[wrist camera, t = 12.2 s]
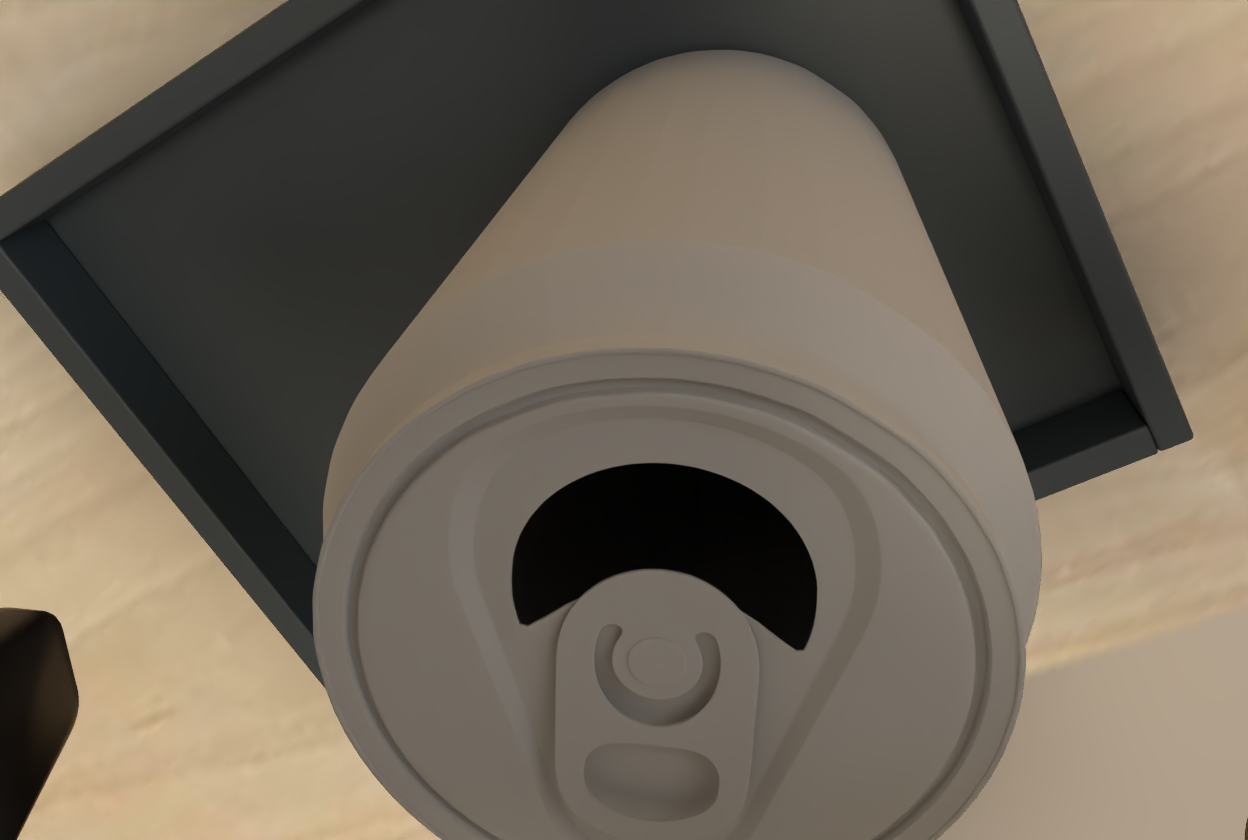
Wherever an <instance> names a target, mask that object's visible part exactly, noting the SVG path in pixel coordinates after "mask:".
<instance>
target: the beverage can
mask: <svg viewBox="0 0 1248 840" xmlns="http://www.w3.org/2000/svg"><path fill="white" fill-rule="evenodd" d="M1041 568H1042V553H1041V538H1040V528H1039V520H1038V512H1037V507H1036V502H1035V498H1034V494H1033V490H1032V487H1031V483H1030V480H1029V477H1028V474H1027V471H1026V468H1025V465H1024V462H1023V459H1022V457H1021V454H1020V451H1019V449H1018V446H1017V444H1016V442H1015V439H1014V437H1013V434H1012V432H1011V430H1010V427H1009V425H1008V423H1007V420H1006V418H1005V416H1004V413H1003V411H1002V409H1001V406H1000V404H999V402H998V399H997V397H996V394H995V392H994V390H993V387H992V385H991V383H990V380H989V378H988V376H987V373H986V371H985V369H984V366H983V364H982V362H981V359H980V357H979V354H978V352H977V350H976V347H975V345H974V343H973V340H972V338H971V336H970V333H969V331H968V329H967V326H966V324H965V322H964V319H963V317H962V314H961V312H960V310H959V307H958V305H957V303H956V300H955V298H954V296H953V293H952V291H951V289H950V286H949V284H948V282H947V279H946V277H945V274H944V272H943V270H942V267H941V265H940V263H939V260H938V258H937V256H936V253H935V251H934V249H933V246H932V244H931V242H930V239H929V237H928V234H927V232H926V230H925V227H924V225H923V223H922V220H921V218H920V216H919V213H918V211H917V209H916V206H915V204H914V202H913V199H912V197H911V194H910V192H909V190H908V187H907V185H906V183H905V180H904V178H903V176H902V173H901V171H900V169H899V166H898V164H897V162H896V160H895V158H894V156H893V154H892V152H891V150H890V148H889V146H888V145H887V143H886V141H885V139H884V138H883V136H882V134H881V133H880V131H879V130H878V129H877V127H876V126H875V125H874V124H873V122H872V121H871V120H870V119H869V118H868V116H867V115H866V114H865V113H864V112H863V111H862V109H861V108H860V107H859V106H858V105H857V104H856V103H855V102H853V101H852V100H851V99H850V98H849V97H847V96H846V95H845V94H843V93H842V92H841V91H839V90H838V89H836V88H835V87H833V86H832V85H830V84H829V83H828V82H826V81H824V80H823V79H821V78H820V77H818V76H817V75H815V74H814V73H812V72H810V71H809V70H807V69H805V68H803V67H800V66H798V65H796V64H793V63H790V62H787V61H785V60H782V59H778V58H775V57H772V56H768V55H764V54H760V53H754V52H747V51H739V50H705V51H694V52H687V53H682V54H678V55H674V56H669V57H665V58H662V59H658V60H656V61H653V62H650V63H648V64H646V65H644V66H641V67H639V68H637V69H634V70H632V71H631V72H629V73H627V74H625V75H623V76H621V77H620V78H618V79H617V80H615V81H614V82H612V83H611V84H609V85H608V86H606V87H605V88H603V89H602V90H601V91H599V92H598V93H597V94H596V95H594V96H593V97H592V98H591V99H590V100H589V101H588V102H587V103H586V104H585V105H584V106H583V107H582V108H581V109H580V110H579V111H578V112H577V113H576V114H575V115H574V116H573V117H572V119H571V120H570V121H569V122H568V124H567V125H566V126H565V127H564V129H563V130H562V131H561V133H560V134H559V135H558V136H557V138H556V139H555V140H554V141H553V143H552V144H551V145H550V147H549V148H548V149H547V150H546V152H545V153H544V154H543V155H542V157H541V158H540V159H539V161H538V162H537V163H536V164H535V166H534V167H533V168H532V169H531V171H530V172H529V173H528V175H527V176H526V177H525V178H524V180H523V181H522V182H521V184H520V185H519V186H518V187H517V189H516V190H515V191H514V192H513V194H512V195H511V196H510V198H509V199H508V200H507V201H506V203H505V204H504V205H503V206H502V208H501V209H500V210H499V212H498V213H497V214H496V215H495V217H494V218H493V219H492V221H491V222H490V223H489V224H488V226H487V227H486V228H485V229H484V231H483V232H482V233H481V235H480V236H479V237H478V238H477V240H476V241H475V242H474V243H473V245H472V246H471V247H470V249H469V250H468V251H467V252H466V254H465V255H464V256H463V258H462V259H461V260H460V261H459V263H458V264H457V265H456V266H455V268H454V269H453V270H452V272H451V273H450V274H449V275H448V277H447V278H446V279H445V280H444V282H443V283H442V284H441V286H440V287H439V288H438V289H437V291H436V292H435V293H434V294H433V296H432V297H431V298H430V300H429V301H428V302H427V303H426V305H425V306H424V307H423V309H422V310H421V311H420V312H419V314H418V315H417V316H416V317H415V319H414V320H413V321H412V323H411V324H410V325H409V326H408V328H407V329H406V330H405V331H404V333H403V334H402V335H401V337H400V338H399V339H398V340H397V342H396V343H395V344H394V346H393V347H392V348H391V349H390V351H389V352H388V353H387V354H386V356H385V357H384V358H383V360H382V361H381V362H380V364H379V365H378V366H377V368H376V369H375V371H374V372H373V373H372V375H371V376H370V377H369V379H368V381H367V382H366V384H365V385H364V387H363V388H362V390H361V391H360V393H359V394H358V396H357V397H356V399H355V401H354V403H353V405H352V407H351V409H350V411H349V413H348V415H347V417H346V420H345V422H344V424H343V427H342V429H341V432H340V434H339V436H338V439H337V442H336V444H335V447H334V450H333V454H332V458H331V462H330V467H329V472H328V477H327V483H326V488H325V495H324V502H323V544H322V547H321V551H320V555H319V560H318V565H317V570H316V576H315V581H314V588H313V603H312V605H313V636H314V644H315V649H316V654H317V658H318V663H319V667H320V671H321V674H322V678H323V681H324V685H325V688H326V691H327V693H328V696H329V698H330V701H331V704H332V706H333V709H334V711H335V713H336V715H337V717H338V719H339V721H340V723H341V725H342V727H343V729H344V731H345V733H346V735H347V737H348V738H349V740H350V741H351V743H352V745H353V746H354V748H355V750H356V751H357V753H358V754H359V756H360V757H361V759H362V760H363V761H364V763H365V764H366V765H367V767H368V768H369V770H370V771H371V772H372V774H373V775H374V776H375V777H376V778H377V780H378V781H379V782H380V783H381V784H382V785H383V787H384V788H385V789H386V790H387V791H388V792H389V794H390V795H391V796H392V797H393V798H394V799H395V800H396V801H397V802H398V803H399V804H400V805H401V806H402V807H403V808H404V809H405V810H406V811H407V812H409V813H410V814H411V815H412V816H413V817H414V818H416V819H417V820H418V821H419V822H420V823H421V824H422V825H424V826H425V827H426V828H427V829H428V830H430V831H431V832H432V833H434V834H435V835H436V836H438V837H439V838H440V839H442V840H936V839H937V838H939V837H940V836H941V835H942V834H943V833H944V832H945V831H946V830H947V829H948V828H949V827H950V826H951V825H952V824H953V823H955V822H956V821H957V820H958V819H959V818H960V817H961V815H962V814H963V813H964V812H965V811H966V810H967V808H968V807H969V806H970V805H971V803H972V802H973V801H974V800H975V799H976V798H977V796H978V795H979V793H980V792H981V790H982V789H983V788H984V786H985V785H986V783H987V782H988V780H989V779H990V777H991V776H992V774H993V772H994V770H995V768H996V767H997V765H998V763H999V761H1000V759H1001V757H1002V756H1003V753H1004V751H1005V749H1006V746H1007V744H1008V741H1009V739H1010V737H1011V734H1012V731H1013V729H1014V725H1015V722H1016V719H1017V716H1018V713H1019V709H1020V704H1021V699H1022V694H1023V686H1024V678H1025V668H1026V649H1025V646H1026V644H1027V641H1028V638H1029V635H1030V631H1031V628H1032V625H1033V622H1034V618H1035V613H1036V609H1037V604H1038V597H1039V589H1040V581H1041Z"/></svg>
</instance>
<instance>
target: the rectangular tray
mask: <svg viewBox="0 0 1248 840" xmlns="http://www.w3.org/2000/svg"><path fill="white" fill-rule="evenodd" d="M705 50H739V51H747V52H754V53H760V54H764V55H768V56H772V57H775V58H778V59H782V60H785V61H787V62H790V63H793V64H796V65H798V66H800V67H803V68H805V69H807V70H809V71H810V72H812V73H814V74H815V75H817V76H818V77H820V78H821V79H823V80H824V81H826V82H828V83H829V84H830V85H832V86H833V87H835V88H836V89H838V90H839V91H841V92H842V93H843V94H845V95H846V96H847V97H849V98H850V99H851V100H852V101H853V102H855V103H856V104H857V105H858V106H859V107H860V108H861V109H862V111H863V112H864V113H865V114H866V115H867V116H868V118H869V119H870V120H871V121H872V122H873V124H874V125H875V126H876V127H877V129H878V130H879V131H880V133H881V134H882V136H883V138H884V139H885V141H886V143H887V145H888V146H889V148H890V150H891V152H892V154H893V156H894V158H895V160H896V162H897V164H898V166H899V169H900V171H901V173H902V176H903V178H904V180H905V183H906V185H907V187H908V190H909V192H910V194H911V197H912V199H913V202H914V204H915V206H916V209H917V211H918V213H919V216H920V218H921V220H922V223H923V225H924V227H925V230H926V232H927V234H928V237H929V239H930V242H931V244H932V246H933V249H934V251H935V253H936V256H937V258H938V260H939V263H940V265H941V267H942V270H943V272H944V274H945V277H946V279H947V282H948V284H949V286H950V289H951V291H952V293H953V296H954V298H955V300H956V303H957V305H958V307H959V310H960V312H961V314H962V317H963V319H964V322H965V324H966V326H967V329H968V331H969V333H970V336H971V338H972V340H973V343H974V345H975V347H976V350H977V352H978V354H979V357H980V359H981V362H982V364H983V366H984V369H985V371H986V373H987V376H988V378H989V380H990V383H991V385H992V387H993V390H994V392H995V394H996V397H997V399H998V402H999V404H1000V406H1001V409H1002V411H1003V413H1004V416H1005V418H1006V420H1007V423H1008V425H1009V427H1010V430H1011V432H1012V434H1013V437H1014V439H1015V442H1016V444H1017V446H1018V449H1019V451H1020V454H1021V457H1022V459H1023V462H1024V465H1025V468H1026V471H1027V474H1028V477H1029V480H1030V483H1031V487H1032V490H1033V494H1034V498H1035V501H1036V500H1038V499H1041V498H1043V497H1046V496H1048V495H1051V494H1054V493H1056V492H1059V491H1061V490H1064V489H1067V488H1069V487H1072V486H1074V485H1077V484H1079V483H1082V482H1085V481H1087V480H1090V479H1092V478H1095V477H1097V476H1100V475H1103V474H1105V473H1108V472H1110V471H1113V470H1115V469H1118V468H1121V467H1123V466H1126V465H1128V464H1131V463H1133V462H1136V461H1139V460H1141V459H1144V458H1146V457H1149V456H1152V455H1154V454H1156V453H1157V451H1158V450H1160V451H1162V450H1166V449H1168V448H1171V447H1173V446H1176V445H1179V444H1181V443H1184V442H1186V441H1189V440H1191V439H1192V438H1193V432H1192V430H1191V427H1190V425H1189V423H1188V420H1187V418H1186V415H1185V413H1184V410H1183V408H1182V405H1181V403H1180V400H1179V398H1178V395H1177V393H1176V391H1175V388H1174V386H1173V383H1172V381H1171V378H1170V376H1169V373H1168V371H1167V368H1166V366H1165V363H1164V361H1163V359H1162V356H1161V354H1160V351H1159V349H1158V346H1157V344H1156V341H1155V339H1154V336H1153V334H1152V331H1151V329H1150V327H1149V324H1148V322H1147V319H1146V317H1145V314H1144V312H1143V309H1142V307H1141V304H1140V302H1139V299H1138V297H1137V295H1136V292H1135V290H1134V287H1133V285H1132V282H1131V280H1130V277H1129V275H1128V272H1127V270H1126V267H1125V265H1124V263H1123V260H1122V258H1121V255H1120V253H1119V250H1118V248H1117V245H1116V243H1115V240H1114V238H1113V236H1112V233H1111V231H1110V228H1109V226H1108V223H1107V221H1106V218H1105V216H1104V213H1103V211H1102V208H1101V206H1100V204H1099V201H1098V199H1097V196H1096V194H1095V191H1094V189H1093V186H1092V184H1091V181H1090V179H1089V176H1088V174H1087V172H1086V169H1085V167H1084V164H1083V162H1082V159H1081V157H1080V154H1079V152H1078V149H1077V147H1076V144H1075V142H1074V140H1073V137H1072V135H1071V132H1070V130H1069V127H1068V125H1067V122H1066V120H1065V117H1064V115H1063V112H1062V110H1061V108H1060V105H1059V103H1058V100H1057V98H1056V95H1055V93H1054V90H1053V88H1052V85H1051V83H1050V80H1049V78H1048V76H1047V73H1046V71H1045V68H1044V66H1043V63H1042V61H1041V58H1040V56H1039V53H1038V51H1037V48H1036V46H1035V44H1034V41H1033V39H1032V36H1031V34H1030V31H1029V29H1028V26H1027V24H1026V21H1025V19H1024V17H1023V14H1022V12H1021V9H1020V7H1019V4H1018V2H1017V0H288V1H286V2H285V3H283V4H282V5H280V6H279V7H278V8H276V9H275V10H273V11H272V12H270V13H269V14H267V15H266V16H264V17H263V18H261V19H260V20H258V21H257V22H256V23H254V24H253V25H251V26H250V27H248V28H247V29H245V30H244V31H242V32H241V33H239V34H238V35H236V36H235V37H234V38H232V39H231V40H229V41H228V42H226V43H225V44H223V45H222V46H220V47H219V48H217V49H216V50H214V51H213V52H211V53H210V54H209V55H207V56H206V57H204V58H203V59H201V60H200V61H198V62H197V63H195V64H194V65H192V66H191V67H189V68H188V69H187V70H185V71H184V72H182V73H181V74H179V75H178V76H176V77H175V78H173V79H172V80H170V81H169V82H167V83H166V84H165V85H163V86H162V87H160V88H159V89H157V90H156V91H154V92H153V93H151V94H150V95H148V96H147V97H145V98H144V99H143V100H141V101H140V102H138V103H137V104H135V105H134V106H132V107H131V108H129V109H128V110H126V111H125V112H123V113H122V114H121V115H119V116H118V117H116V118H115V119H113V120H112V121H110V122H109V123H107V124H106V125H104V126H103V127H101V128H100V129H98V130H97V131H96V132H94V133H93V134H91V135H90V136H88V137H87V138H85V139H84V140H82V141H81V142H79V143H78V144H76V145H75V146H74V147H72V148H71V149H69V150H68V151H66V152H65V153H63V154H62V155H60V156H59V157H57V158H56V159H54V160H53V161H52V162H50V163H49V164H47V165H46V166H44V167H43V168H41V169H40V170H38V171H37V172H35V173H34V174H32V175H31V176H30V177H28V178H27V179H25V180H24V181H22V182H21V183H19V184H18V185H16V186H15V187H13V188H12V189H10V190H9V191H7V192H6V193H5V194H3V195H2V196H0V290H1V291H2V292H3V294H4V295H5V296H6V297H7V298H8V300H9V301H10V302H11V303H12V305H13V306H14V307H15V308H16V310H17V311H18V312H19V313H20V314H21V316H22V317H23V318H24V319H25V321H26V322H27V323H28V324H29V325H30V327H31V328H32V329H33V330H34V332H35V333H36V334H37V335H38V337H39V338H40V339H41V340H42V341H43V343H44V344H45V345H46V346H47V348H48V349H49V350H50V351H51V352H52V354H53V355H54V356H55V357H56V359H57V360H58V361H59V362H60V364H61V365H62V366H63V367H64V368H65V370H66V371H67V372H68V373H69V375H70V376H71V377H72V378H73V379H74V381H75V382H76V383H77V384H78V386H79V387H80V388H81V389H82V390H83V392H84V393H85V394H86V395H87V397H88V398H89V399H90V400H91V402H92V403H93V404H94V405H95V406H96V408H97V409H98V410H99V411H100V413H101V414H102V415H103V416H104V417H105V419H106V420H107V421H108V422H109V424H110V425H111V426H112V427H113V429H114V430H115V431H116V432H117V433H118V435H119V436H120V437H121V438H122V440H123V441H124V442H125V443H126V444H127V446H128V447H129V448H130V449H131V451H132V452H133V453H134V454H135V456H136V457H137V458H138V459H139V460H140V462H141V463H142V464H143V465H144V467H145V468H146V469H147V470H148V471H149V473H150V474H151V475H152V476H153V478H154V479H155V480H156V481H157V483H158V484H159V485H160V486H161V487H162V489H163V490H164V491H165V492H166V494H167V495H168V496H169V497H170V498H171V500H172V501H173V502H174V503H175V505H176V506H177V507H178V508H179V510H180V511H181V512H182V513H183V514H184V516H185V517H186V518H187V519H188V521H189V522H190V523H191V524H192V525H193V527H194V528H195V529H196V530H197V532H198V533H199V534H200V535H201V536H202V538H203V539H204V540H205V541H206V543H207V544H208V545H209V546H210V548H211V549H212V550H213V551H214V552H215V554H216V555H217V556H218V557H219V559H220V560H221V561H222V562H223V563H224V565H225V566H226V567H227V568H228V570H229V571H230V572H231V573H232V575H233V576H234V577H235V578H236V579H237V581H238V582H239V583H240V584H241V586H242V587H243V588H244V589H245V590H246V592H247V593H248V594H249V595H250V597H251V598H252V599H253V600H254V602H255V603H256V604H257V605H258V606H259V608H260V609H261V610H262V611H263V613H264V614H265V615H266V616H267V617H268V619H269V620H270V621H271V622H272V624H273V625H274V626H275V627H276V629H277V630H278V631H279V632H280V633H281V635H282V636H283V637H284V638H285V640H286V641H287V642H288V643H289V644H290V646H291V647H292V648H293V649H294V651H295V652H296V653H297V654H298V656H299V657H300V658H301V659H302V660H303V662H304V663H305V664H306V665H307V667H308V668H309V669H310V670H311V671H312V673H313V674H314V675H315V676H316V678H317V679H318V680H319V681H320V683H321V684H322V685H323V686H324V687H325V685H324V681H323V678H322V674H321V671H320V667H319V663H318V658H317V654H316V649H315V644H314V636H313V605H312V603H313V588H314V581H315V576H316V570H317V565H318V560H319V555H320V551H321V547H322V544H323V502H324V495H325V488H326V483H327V477H328V472H329V467H330V462H331V458H332V454H333V450H334V447H335V444H336V442H337V439H338V436H339V434H340V432H341V429H342V427H343V424H344V422H345V420H346V417H347V415H348V413H349V411H350V409H351V407H352V405H353V403H354V401H355V399H356V397H357V396H358V394H359V393H360V391H361V390H362V388H363V387H364V385H365V384H366V382H367V381H368V379H369V377H370V376H371V375H372V373H373V372H374V371H375V369H376V368H377V366H378V365H379V364H380V362H381V361H382V360H383V358H384V357H385V356H386V354H387V353H388V352H389V351H390V349H391V348H392V347H393V346H394V344H395V343H396V342H397V340H398V339H399V338H400V337H401V335H402V334H403V333H404V331H405V330H406V329H407V328H408V326H409V325H410V324H411V323H412V321H413V320H414V319H415V317H416V316H417V315H418V314H419V312H420V311H421V310H422V309H423V307H424V306H425V305H426V303H427V302H428V301H429V300H430V298H431V297H432V296H433V294H434V293H435V292H436V291H437V289H438V288H439V287H440V286H441V284H442V283H443V282H444V280H445V279H446V278H447V277H448V275H449V274H450V273H451V272H452V270H453V269H454V268H455V266H456V265H457V264H458V263H459V261H460V260H461V259H462V258H463V256H464V255H465V254H466V252H467V251H468V250H469V249H470V247H471V246H472V245H473V243H474V242H475V241H476V240H477V238H478V237H479V236H480V235H481V233H482V232H483V231H484V229H485V228H486V227H487V226H488V224H489V223H490V222H491V221H492V219H493V218H494V217H495V215H496V214H497V213H498V212H499V210H500V209H501V208H502V206H503V205H504V204H505V203H506V201H507V200H508V199H509V198H510V196H511V195H512V194H513V192H514V191H515V190H516V189H517V187H518V186H519V185H520V184H521V182H522V181H523V180H524V178H525V177H526V176H527V175H528V173H529V172H530V171H531V169H532V168H533V167H534V166H535V164H536V163H537V162H538V161H539V159H540V158H541V157H542V155H543V154H544V153H545V152H546V150H547V149H548V148H549V147H550V145H551V144H552V143H553V141H554V140H555V139H556V138H557V136H558V135H559V134H560V133H561V131H562V130H563V129H564V127H565V126H566V125H567V124H568V122H569V121H570V120H571V119H572V117H573V116H574V115H575V114H576V113H577V112H578V111H579V110H580V109H581V108H582V107H583V106H584V105H585V104H586V103H587V102H588V101H589V100H590V99H591V98H592V97H593V96H594V95H596V94H597V93H598V92H599V91H601V90H602V89H603V88H605V87H606V86H608V85H609V84H611V83H612V82H614V81H615V80H617V79H618V78H620V77H621V76H623V75H625V74H627V73H629V72H631V71H632V70H634V69H637V68H639V67H641V66H644V65H646V64H648V63H650V62H653V61H656V60H658V59H662V58H665V57H669V56H674V55H678V54H682V53H687V52H694V51H705ZM325 689H326V688H325Z"/></svg>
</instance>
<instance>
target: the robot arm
mask: <svg viewBox="0 0 1248 840" xmlns="http://www.w3.org/2000/svg"><path fill="white" fill-rule="evenodd" d="M78 707H79V696H78V690H77V686H76V682H75V677H74V673H73V669H72V665H71V661H70V657H69V653H68V649H67V645H66V641H65V637H64V633H63V629H62V626H61V623H60V622H59V621H58V619H57V618H56V617H55V616H54V615H53V614H51V613H48V612H46V611H39V610H29V609H19V608H0V840H17V838H18V836H19V834H20V832H21V830H22V828H23V826H24V824H25V822H26V820H27V818H28V816H29V814H30V812H31V810H32V808H33V806H34V804H35V802H36V800H37V798H38V796H39V794H40V792H41V790H42V789H43V787H44V785H45V783H46V781H47V779H48V777H49V775H50V773H51V771H52V769H53V767H54V765H55V763H56V761H57V759H58V757H59V755H60V753H61V751H62V749H63V747H64V745H65V743H66V741H67V739H68V737H69V735H70V733H71V731H72V729H73V726H74V724H75V721H76V717H77V713H78ZM1245 840H1248V819H1247V823H1246V830H1245Z"/></svg>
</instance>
